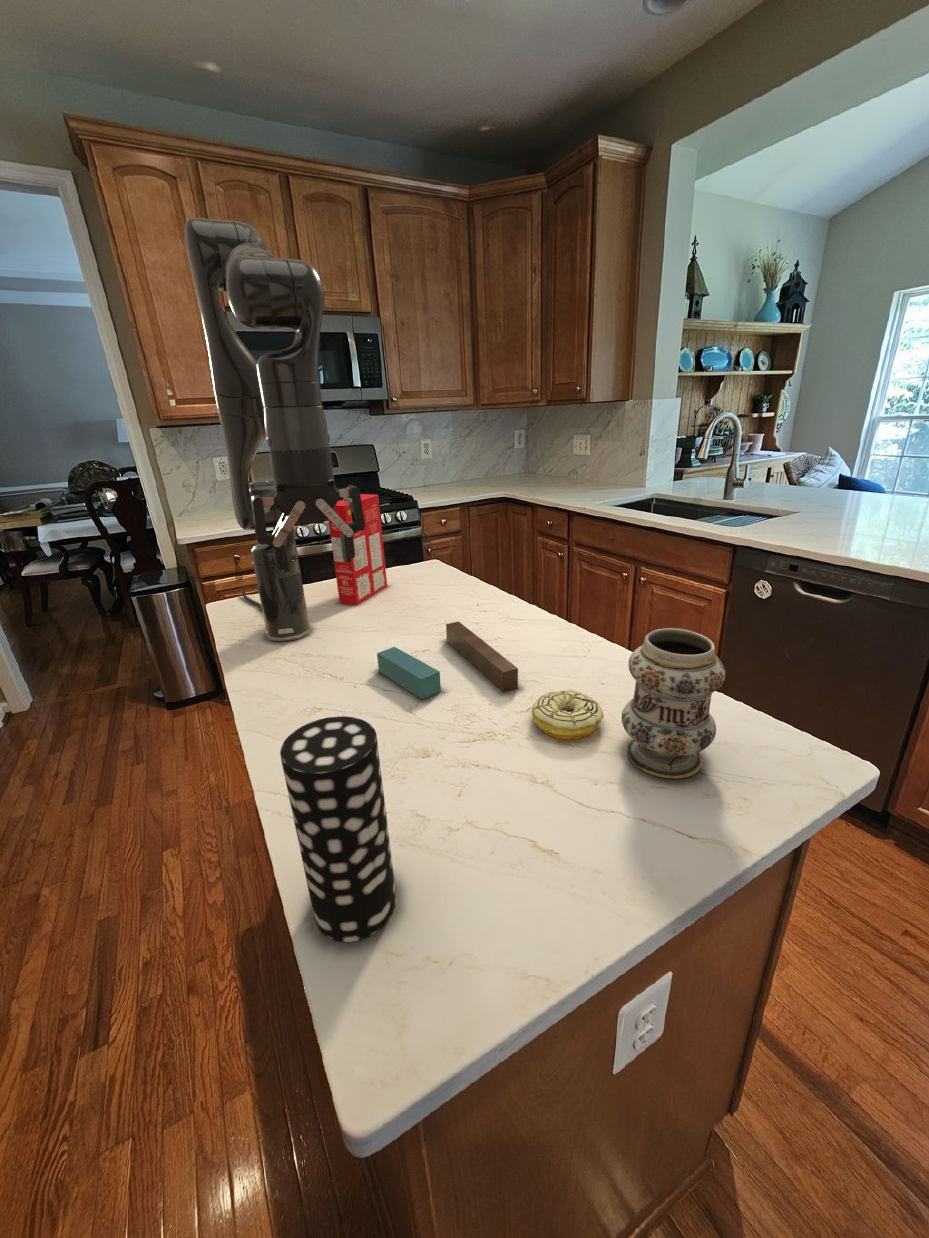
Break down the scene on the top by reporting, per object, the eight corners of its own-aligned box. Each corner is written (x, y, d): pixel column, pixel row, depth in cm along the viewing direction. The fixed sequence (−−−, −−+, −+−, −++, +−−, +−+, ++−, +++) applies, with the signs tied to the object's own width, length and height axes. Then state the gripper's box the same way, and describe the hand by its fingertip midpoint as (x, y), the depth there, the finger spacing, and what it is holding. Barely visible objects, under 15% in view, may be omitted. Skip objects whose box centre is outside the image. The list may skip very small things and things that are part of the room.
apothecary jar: (728, 761, 73) (750, 643, 66) (673, 798, 67) (692, 672, 60) (654, 721, 82) (667, 614, 75) (600, 751, 76) (609, 637, 69)
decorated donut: (614, 720, 83) (616, 700, 82) (577, 753, 76) (579, 731, 74) (557, 698, 90) (558, 678, 88) (519, 726, 82) (519, 705, 81)
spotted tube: (321, 874, 58) (291, 720, 50) (397, 867, 59) (379, 713, 51) (307, 946, 50) (269, 777, 43) (394, 937, 51) (373, 768, 43)
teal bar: (378, 671, 101) (376, 653, 99) (396, 664, 103) (394, 646, 102) (422, 699, 91) (421, 679, 89) (441, 691, 93) (439, 671, 92)
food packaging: (371, 584, 148) (360, 494, 139) (387, 586, 146) (378, 494, 137) (339, 602, 136) (326, 504, 126) (357, 605, 134) (344, 505, 124)
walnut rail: (446, 641, 112) (445, 624, 111) (459, 638, 113) (458, 621, 112) (503, 692, 92) (503, 672, 90) (518, 688, 93) (518, 668, 92)
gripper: (347, 439, 73) (360, 552, 80) (237, 446, 68) (260, 567, 74) (361, 443, 67) (374, 565, 73) (241, 451, 62) (266, 583, 68)
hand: (317, 566), depth 74 cm, fingers open, 8 cm apart
